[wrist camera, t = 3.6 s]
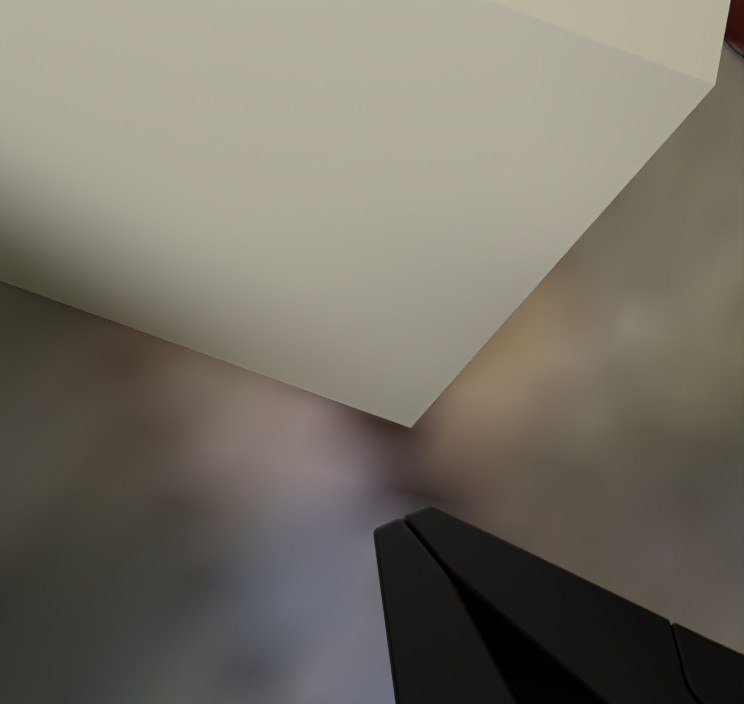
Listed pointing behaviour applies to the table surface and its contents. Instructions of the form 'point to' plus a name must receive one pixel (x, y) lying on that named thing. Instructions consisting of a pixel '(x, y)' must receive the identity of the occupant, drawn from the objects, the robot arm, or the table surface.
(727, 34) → the hourglass
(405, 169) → the side door
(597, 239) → the table surface
